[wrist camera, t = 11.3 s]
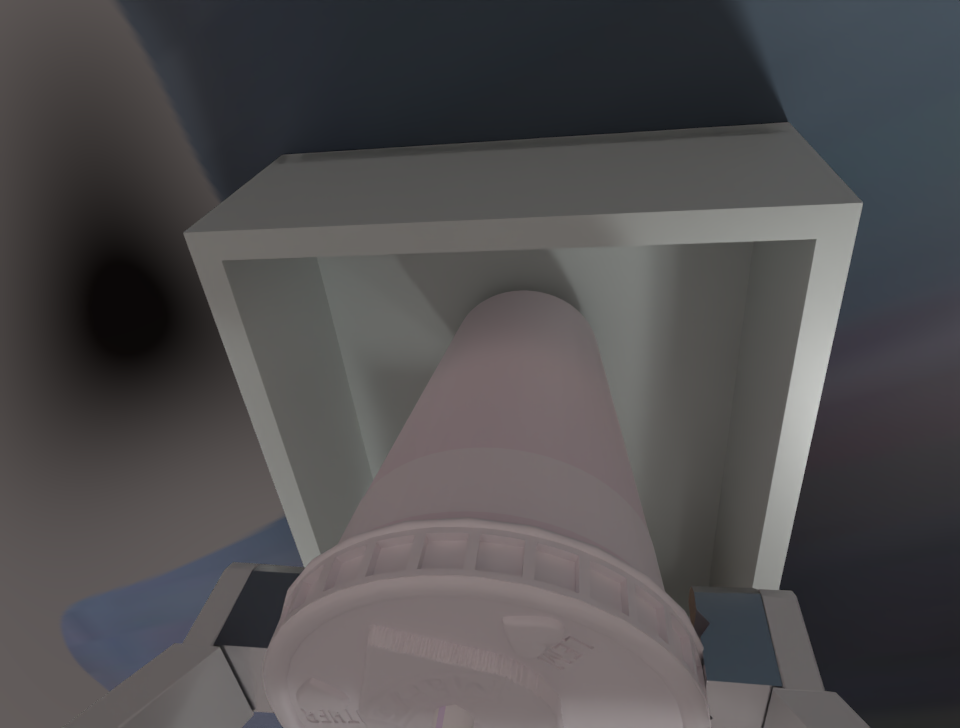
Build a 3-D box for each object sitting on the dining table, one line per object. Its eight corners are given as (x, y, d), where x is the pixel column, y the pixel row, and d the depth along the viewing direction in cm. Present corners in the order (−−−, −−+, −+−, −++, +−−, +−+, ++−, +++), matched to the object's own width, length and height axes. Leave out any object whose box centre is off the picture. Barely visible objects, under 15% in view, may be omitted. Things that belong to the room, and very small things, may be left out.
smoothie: (571, 187, 15) (537, 1153, 3) (696, 393, 17) (923, 1338, 6) (354, 315, 17) (-92, 1110, 6) (492, 477, 20) (369, 1252, 8)
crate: (715, 626, 25) (739, 768, 21) (400, 608, 27) (365, 734, 23) (788, 121, 15) (863, 202, 11) (282, 154, 17) (182, 232, 13)
